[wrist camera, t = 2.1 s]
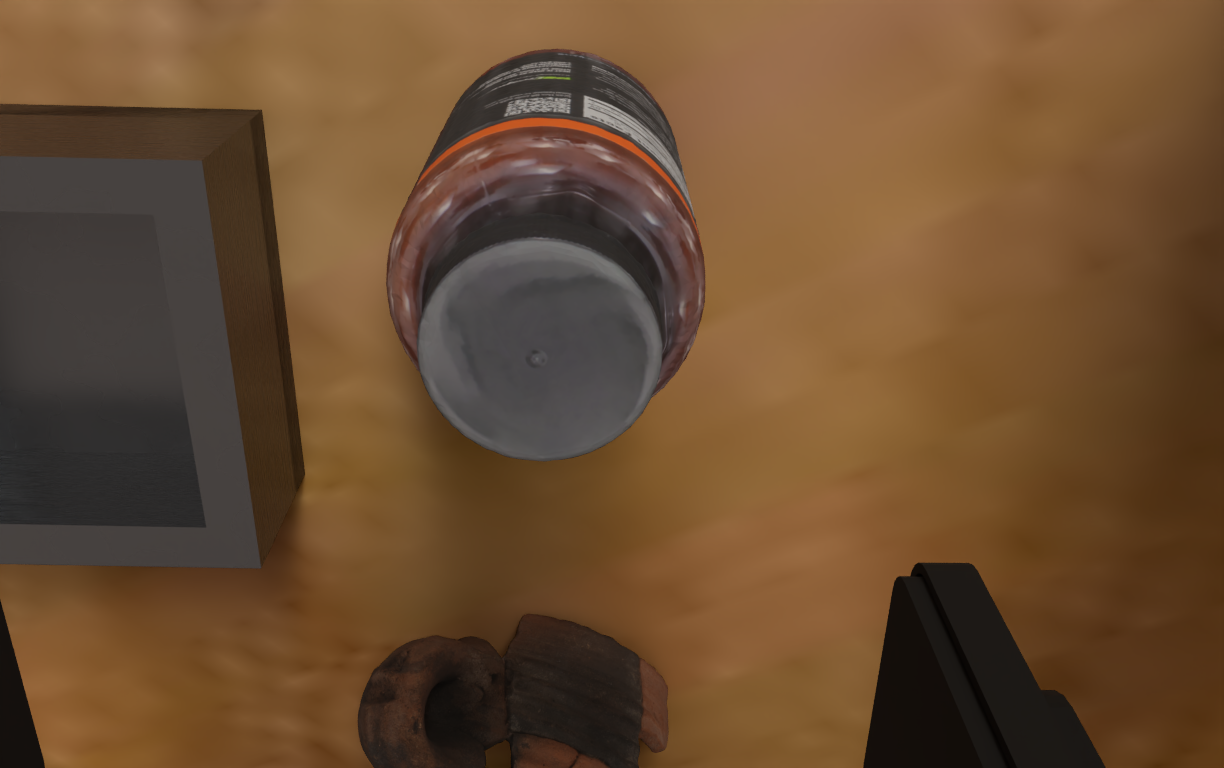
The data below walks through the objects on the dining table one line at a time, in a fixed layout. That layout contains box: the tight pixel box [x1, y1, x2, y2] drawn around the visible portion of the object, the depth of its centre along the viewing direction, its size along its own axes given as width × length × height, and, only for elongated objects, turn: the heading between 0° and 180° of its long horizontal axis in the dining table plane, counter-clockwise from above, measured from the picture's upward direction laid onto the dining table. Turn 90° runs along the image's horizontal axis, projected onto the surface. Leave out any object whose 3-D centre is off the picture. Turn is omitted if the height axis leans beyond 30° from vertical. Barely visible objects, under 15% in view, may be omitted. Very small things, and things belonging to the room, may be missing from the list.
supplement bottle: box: [386, 49, 705, 461], centre depth 23 cm, size 6×6×11 cm
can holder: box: [0, 104, 305, 568], centre depth 27 cm, size 10×10×4 cm
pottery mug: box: [358, 614, 668, 768], centre depth 34 cm, size 12×10×8 cm
